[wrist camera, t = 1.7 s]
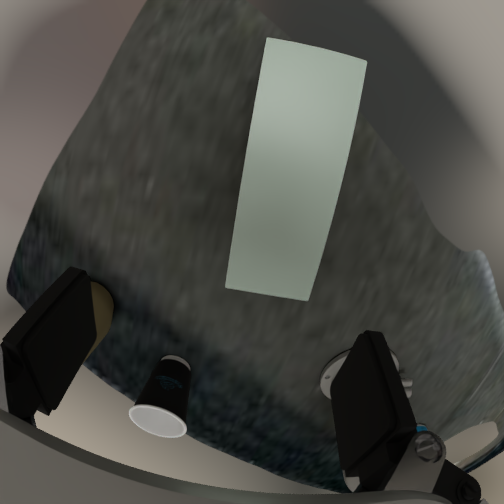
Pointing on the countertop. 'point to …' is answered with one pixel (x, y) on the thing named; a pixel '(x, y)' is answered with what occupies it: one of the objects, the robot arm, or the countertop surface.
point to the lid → (293, 167)
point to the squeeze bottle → (101, 312)
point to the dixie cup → (164, 399)
